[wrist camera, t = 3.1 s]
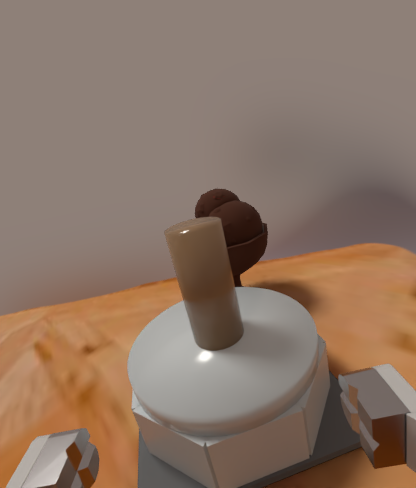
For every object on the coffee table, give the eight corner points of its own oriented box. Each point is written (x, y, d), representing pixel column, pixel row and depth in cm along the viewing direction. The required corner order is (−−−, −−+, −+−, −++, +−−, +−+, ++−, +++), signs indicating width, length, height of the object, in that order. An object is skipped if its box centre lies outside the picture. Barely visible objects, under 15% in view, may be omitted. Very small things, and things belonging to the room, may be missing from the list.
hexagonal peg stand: (148, 523, 16) (50, 307, 12) (147, 358, 30) (102, 229, 25) (371, 432, 18) (361, 217, 14) (274, 316, 32) (253, 190, 27)
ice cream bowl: (182, 311, 38) (152, 204, 34) (234, 275, 45) (215, 183, 41) (242, 335, 31) (214, 202, 26) (294, 288, 38) (279, 176, 33)
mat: (139, 538, 16) (136, 532, 16) (142, 362, 30) (141, 359, 30) (383, 437, 18) (383, 431, 18) (279, 317, 32) (279, 314, 32)
